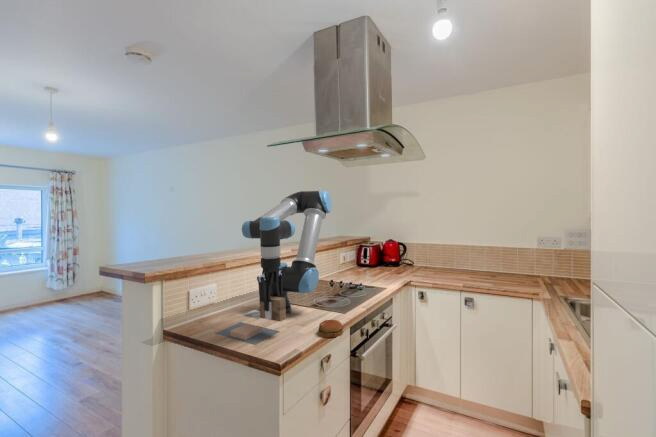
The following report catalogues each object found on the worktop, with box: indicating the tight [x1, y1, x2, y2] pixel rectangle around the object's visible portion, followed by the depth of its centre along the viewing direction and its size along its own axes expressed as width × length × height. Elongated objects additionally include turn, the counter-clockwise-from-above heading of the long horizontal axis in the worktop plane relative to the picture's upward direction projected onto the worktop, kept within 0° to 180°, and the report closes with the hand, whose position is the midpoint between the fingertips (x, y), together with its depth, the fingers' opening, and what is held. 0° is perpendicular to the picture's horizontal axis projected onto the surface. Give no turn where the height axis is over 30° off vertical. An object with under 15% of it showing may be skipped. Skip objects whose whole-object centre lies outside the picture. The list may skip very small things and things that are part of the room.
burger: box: [318, 319, 344, 338], centre depth 122 cm, size 10×9×5 cm
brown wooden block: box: [242, 296, 287, 322], centre depth 122 cm, size 18×6×8 cm, turn 60°
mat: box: [214, 321, 281, 345], centre depth 122 cm, size 22×14×1 cm, turn 60°
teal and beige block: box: [230, 323, 263, 340], centre depth 120 cm, size 2×8×9 cm
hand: (272, 316), depth 120 cm, fingers closed on brown wooden block, 3 cm apart
